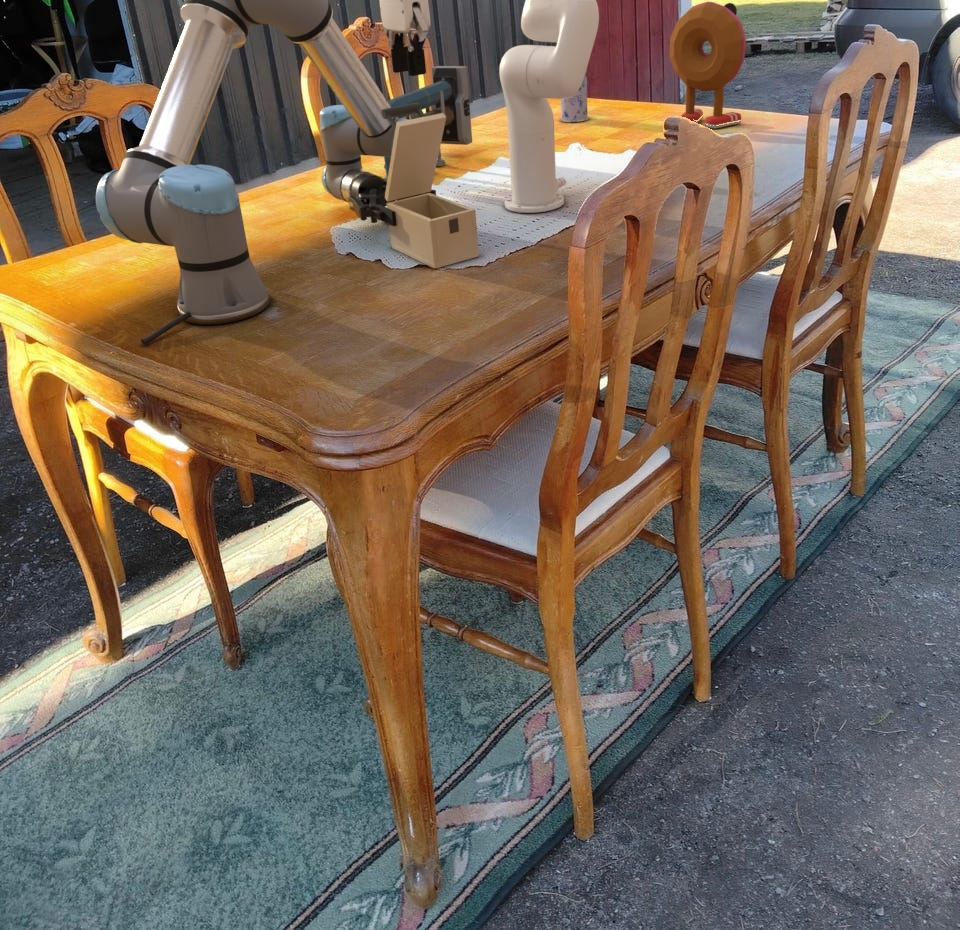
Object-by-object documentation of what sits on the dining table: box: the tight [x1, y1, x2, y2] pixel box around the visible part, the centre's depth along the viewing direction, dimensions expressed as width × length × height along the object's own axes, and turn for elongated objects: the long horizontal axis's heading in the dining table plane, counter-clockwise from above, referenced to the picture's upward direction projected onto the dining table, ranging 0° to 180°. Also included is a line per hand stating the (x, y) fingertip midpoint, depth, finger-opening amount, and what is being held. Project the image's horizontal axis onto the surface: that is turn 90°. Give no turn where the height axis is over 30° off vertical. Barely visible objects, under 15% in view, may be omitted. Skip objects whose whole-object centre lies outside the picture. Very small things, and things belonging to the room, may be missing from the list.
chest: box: [386, 193, 480, 269], centre depth 182 cm, size 17×10×9 cm, turn 32°
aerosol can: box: [560, 68, 589, 123], centre depth 273 cm, size 8×8×20 cm
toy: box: [669, 1, 747, 129], centre depth 252 cm, size 21×10×30 cm, turn 47°
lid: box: [382, 103, 446, 202], centre depth 180 cm, size 17×10×8 cm
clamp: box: [382, 65, 473, 182], centre depth 234 cm, size 35×9×21 cm, turn 151°
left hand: (418, 213), depth 185 cm, fingers closed on chest, 10 cm apart
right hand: (409, 72), depth 170 cm, fingers open, 5 cm apart
